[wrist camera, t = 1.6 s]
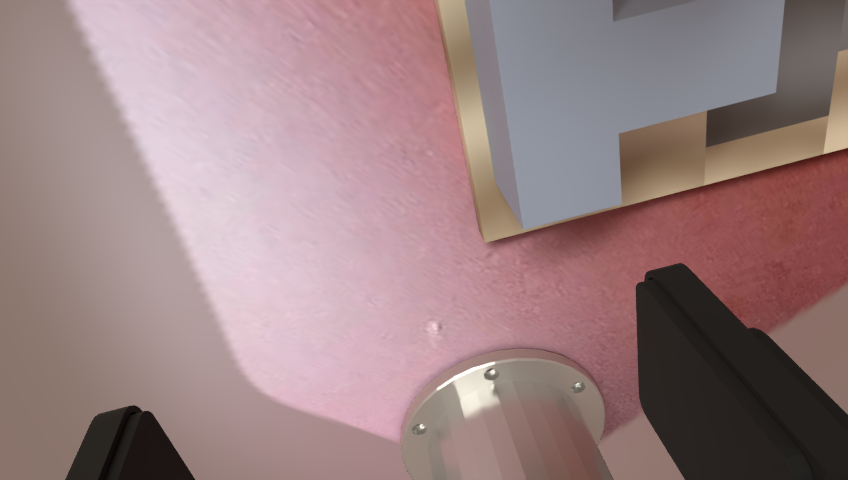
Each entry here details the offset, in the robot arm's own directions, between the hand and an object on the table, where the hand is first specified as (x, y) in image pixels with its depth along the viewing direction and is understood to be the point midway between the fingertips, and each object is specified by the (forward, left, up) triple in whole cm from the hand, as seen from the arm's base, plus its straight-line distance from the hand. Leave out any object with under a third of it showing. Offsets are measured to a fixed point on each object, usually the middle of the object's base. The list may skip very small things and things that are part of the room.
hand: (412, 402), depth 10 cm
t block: (0, -10, -17) cm, 19 cm away
